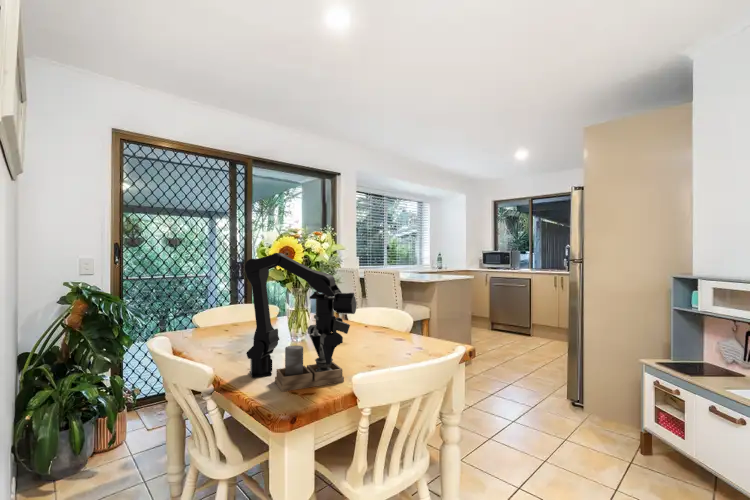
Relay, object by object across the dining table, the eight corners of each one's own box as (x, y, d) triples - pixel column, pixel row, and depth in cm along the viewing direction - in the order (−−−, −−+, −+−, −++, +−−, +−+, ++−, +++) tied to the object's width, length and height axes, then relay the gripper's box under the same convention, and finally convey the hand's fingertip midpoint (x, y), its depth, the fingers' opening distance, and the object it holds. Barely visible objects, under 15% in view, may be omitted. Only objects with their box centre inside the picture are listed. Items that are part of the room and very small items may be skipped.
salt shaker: (334, 367, 127) (334, 332, 127) (331, 373, 121) (332, 336, 121) (316, 367, 127) (316, 332, 127) (313, 373, 121) (313, 335, 121)
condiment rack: (281, 391, 113) (281, 353, 113) (274, 381, 122) (275, 345, 122) (344, 381, 121) (344, 346, 122) (333, 372, 130) (333, 339, 131)
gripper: (358, 315, 119) (357, 364, 119) (337, 307, 136) (337, 350, 136) (324, 317, 114) (324, 369, 114) (307, 309, 131) (307, 354, 131)
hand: (324, 360), depth 124 cm, fingers closed on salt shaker, 8 cm apart
